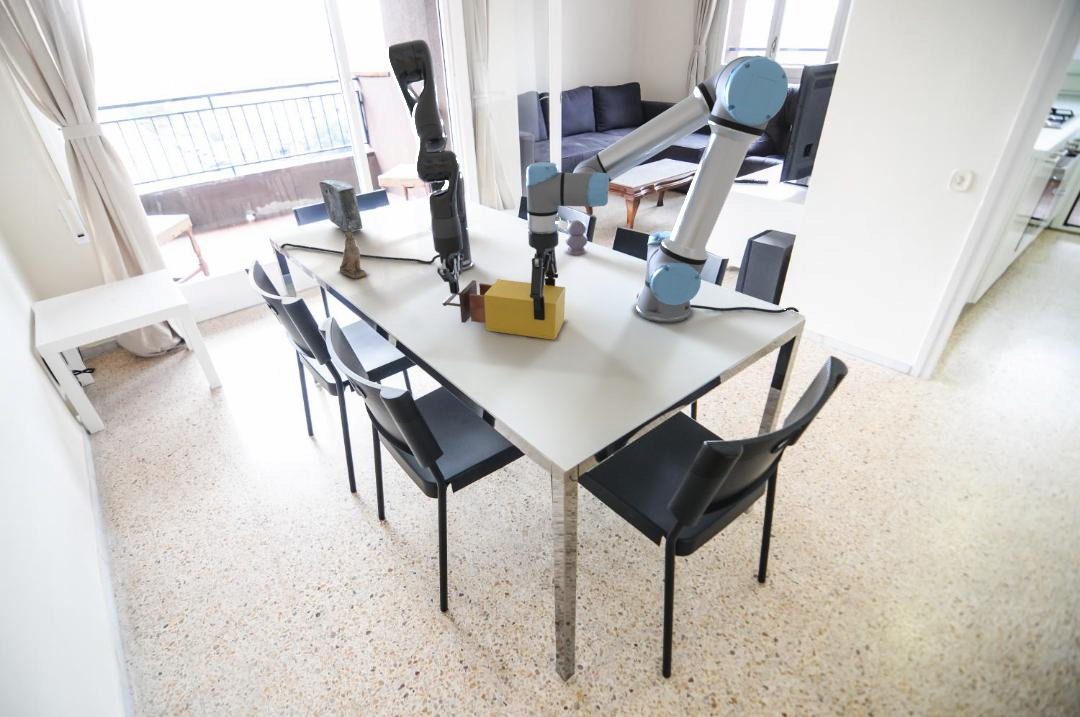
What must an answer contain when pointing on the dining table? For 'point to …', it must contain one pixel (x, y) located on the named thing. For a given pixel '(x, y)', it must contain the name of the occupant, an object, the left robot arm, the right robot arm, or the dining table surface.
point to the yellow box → (523, 309)
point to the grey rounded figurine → (576, 237)
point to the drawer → (471, 302)
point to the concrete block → (341, 204)
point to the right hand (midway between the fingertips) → (545, 309)
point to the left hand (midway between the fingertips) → (455, 292)
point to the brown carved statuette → (351, 258)
